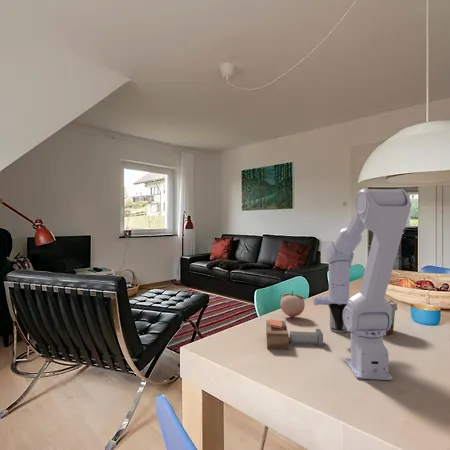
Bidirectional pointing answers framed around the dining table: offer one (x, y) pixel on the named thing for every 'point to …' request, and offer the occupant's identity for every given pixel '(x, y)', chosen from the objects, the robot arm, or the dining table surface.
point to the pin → (307, 338)
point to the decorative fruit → (292, 304)
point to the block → (277, 336)
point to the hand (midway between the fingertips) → (338, 329)
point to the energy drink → (332, 325)
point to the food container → (394, 307)
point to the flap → (275, 323)
